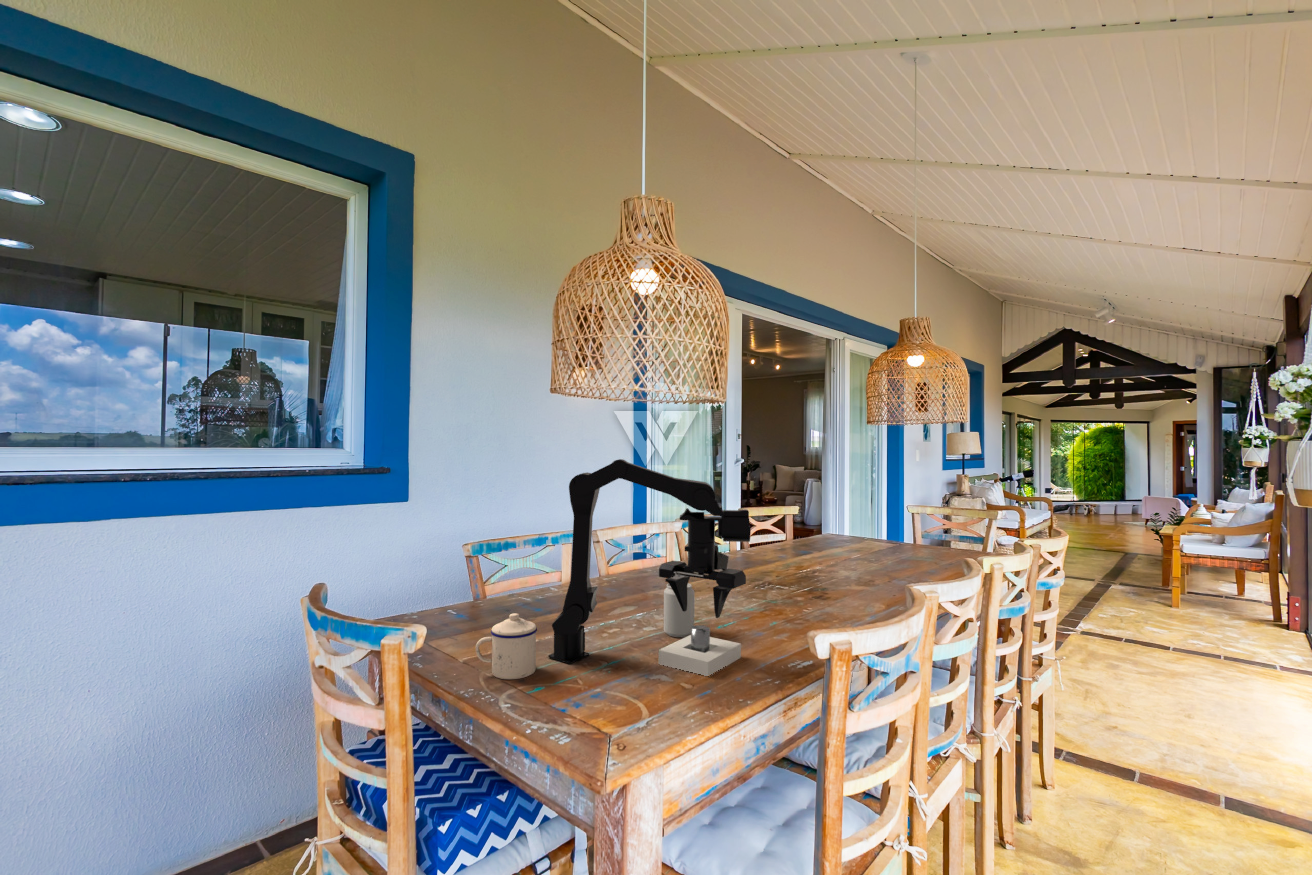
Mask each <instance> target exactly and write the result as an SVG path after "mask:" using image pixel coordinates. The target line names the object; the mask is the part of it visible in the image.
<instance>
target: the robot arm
mask: <svg viewBox="0 0 1312 875" xmlns="http://www.w3.org/2000/svg"><path fill="white" fill-rule="evenodd" d="M618 479H620V480H625V481H627V482H631V483H634V484H636V485H640V486H642V487H646V488H649V489H651V490H655V491H657V492H661V493H664V494H667V495H669V496H671V497H672V498H675V499H677V500H678V501H680V502H681V503H683V504H685V505H687V506H689V507H691V508H693V509H695V510H697V511H691V510H690V509H689V508H687V507H686V508H685V509H684V512H683V513H681V514H680V515H679V520H680V521H687V545H685V546H684V552H687V563H686V562H685V561H678V560H669V561H666V562H663V563H660V566H659V567H658V578H664V580H665V583H667V584H669V585H670V586H671V588H672V590H673V592H674V593H675V595H676V597H677V600H678V602H679V604H680V606H681V608H682V611H684V612H685V611H687V584H688V583H689V581H690V578H691V577H692V578H697V579H704V580H711V581H715V583H716V584H717V585H716V586H714V587H712V591H713V593H712V594H713V595H712V596H713V607H714V608H713V609H714V615H715V618H716V619H719V618H720V617H721V615H722V612H723V609H724V606H725V603H726V600H727V598H728V597H729V594H730V592H732V590H733V589H736V588H738V587H741V586H744V585H746V583H747V575H746V573H745V572H744V570H742V569H741V570H740V569H734V568H728V564H729V558H730V556H728V555H726V554H724V553H722V552H719V545H718V544H716V543H715V542H716V541H715V539H716V532H715V531H716V530H715V529H716V522H717V537H719V538H720V537H721V539H722V541H723V542H729V543H730V542H739V543H740V542H741V543H750V542H751V530H752V529H751V525H750V516H749V515H750V513H749V512H750V511H749V510H748V509H744V508H743V509H738V510H737V509H736V510H735V509H723V507H722V505H721V504H719V503H718V502H717V500H716V492H715V490H714V488H713V486H712V485H711V484H709V483H708V482H706V481H700V480H694V479H688V478H687V479H684V478H677V477H673V476H671V475H667V474H665V473H662V472H659V471H655V470H652V469H649V468H646V467H643V466H640V465H637V464H634V463H631V462H628V461H627V460H625V459H624V458H623V459H621V458H619V459H615V460H613V461H612V462H611V463H609V464H608V465H605V466H603V467H602V468H600V469H598V470H595V471H593V472H582V473H579V474H576V475H575V476H574V477H573V478H571V480H570V481H569V484H568V491H569V492H568V493H569V500H570V506H571V510H572V514H573V526H572V527H573V528H572V529H573V530H572V545H571V547H572V548H571V565H570V581H569V585H568V588H567V591H566V594H565V598H564V602H563V603H564V604H563V606H562V611H561V612H560V613H559V614H558V615H557V617H556V619H555V620H554V621H553V622H552V623H551V627H552V629H553V630H552V631H553V652H552V653H550V654H548V658H549V659H552V660H555V661H559V662H562V663H566V664H572V663H573V664H574V663H575V662H577V661H579V660H582V659H584V658H587V657H589V656H590V652H588V651H585V650H586V632H585V625H584V624H585V623H586V622H587V621H588V619H589V618H590V616H591V614H592V613H593V612H594V610H595V608H596V607H597V605H598V601H597V592H598V586H592V584H591V579H590V577H591V576H590V574H591V557H592V556H591V554H592V539H593V538H592V537H593V515H594V512H595V509H596V505H597V503H598V498H599V495H600V491H601V490H600V489H601V488H603V487H605V486H607V485H608V484H610V483H612V482H614V481H617V480H618ZM704 511H706V512H707V513H708V514H711V515H712V516H707V515H705V512H704ZM718 570H720V571H718Z"/></svg>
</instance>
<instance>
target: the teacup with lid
mask: <svg viewBox="0 0 1312 875" xmlns="http://www.w3.org/2000/svg"><path fill="white" fill-rule="evenodd" d="M537 632H538V627H537V626H536V624H535V622H532V621H530V620H526V619H524V618H522V617H520V614H519V613H515V612H514V613H511V614H509V617H508V618H506V619H505V620H502V621H501V622H498V623H496V624H495V625H493V626H492V628H491V631H490V634H491V636H485V637H482V638H480V639H479V640H478V641H477V642H476V644H475V654H476V656H477V658H478V659H479V660H480V661H481V662H484V663H491V673H492V675H493V677H496V678H497V679H500V680H501V679H502V680H518V679H524V678H527V677H529V676H531V675H532V674H534V673H535V672H536V666H537V665H536V664H537V663H536V659H537V658H536V654H537V653H536V652H537V650H536V646H537V645H536V644H537V638H536V637H537ZM485 642H491V657H485V656H484V655H483V654H482V653H481V651H480V646H481V645H482V644H483V643H485Z"/></svg>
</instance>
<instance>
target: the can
mask: <svg viewBox="0 0 1312 875" xmlns="http://www.w3.org/2000/svg"><path fill="white" fill-rule="evenodd" d="M692 587H693V585H692V584H691V583H689V582H688V584H687V611H685V612H684V611H682V608H681V606H680V604H679V602H678V600H677V597H676V595H675V593H674V592H673V590H672V588H671V586H670V585H669V583H667V584H666V587H665V589H663V631H664V632H665V634H667V636H669V637H672V638H685V637H687V636H689V635H691V627H692V626H695V594H696V593H695V590H694V589H693V588H692Z"/></svg>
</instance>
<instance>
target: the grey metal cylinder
mask: <svg viewBox="0 0 1312 875" xmlns="http://www.w3.org/2000/svg"><path fill="white" fill-rule="evenodd" d="M710 629H711V628H710V627H709V626H707V625H701V624H700V625H699V624H698V625H694V626H692V627H691V650H694V651H699V652H703V653H706V652H708V651H710V637H711V630H710Z"/></svg>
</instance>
